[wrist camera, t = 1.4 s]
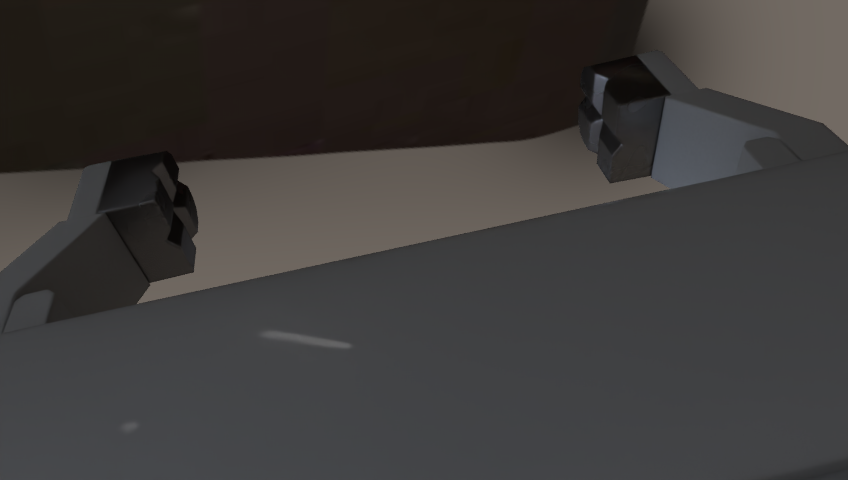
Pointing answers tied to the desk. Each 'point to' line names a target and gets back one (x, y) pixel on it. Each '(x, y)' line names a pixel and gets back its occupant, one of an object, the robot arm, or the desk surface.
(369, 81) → the desk surface
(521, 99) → the desk surface
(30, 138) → the desk surface
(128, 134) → the desk surface
